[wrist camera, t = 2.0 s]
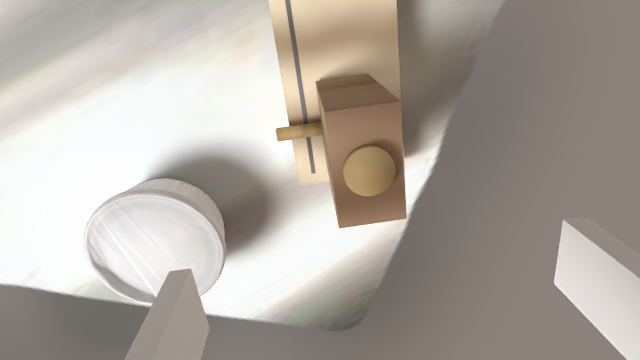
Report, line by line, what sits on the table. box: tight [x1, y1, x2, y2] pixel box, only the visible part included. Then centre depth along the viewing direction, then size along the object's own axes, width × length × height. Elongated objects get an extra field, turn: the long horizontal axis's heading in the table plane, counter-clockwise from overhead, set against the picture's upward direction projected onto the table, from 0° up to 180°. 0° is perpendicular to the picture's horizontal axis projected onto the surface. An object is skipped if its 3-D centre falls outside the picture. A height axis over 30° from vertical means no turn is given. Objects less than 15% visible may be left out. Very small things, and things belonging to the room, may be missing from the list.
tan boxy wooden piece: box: [276, 74, 406, 228], centre depth 26 cm, size 7×8×11 cm
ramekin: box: [84, 178, 226, 305], centre depth 34 cm, size 11×11×5 cm
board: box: [268, 0, 405, 186], centre depth 29 cm, size 24×9×3 cm, turn 8°
